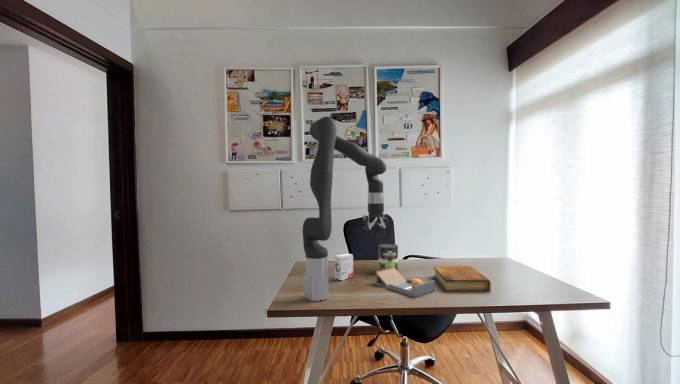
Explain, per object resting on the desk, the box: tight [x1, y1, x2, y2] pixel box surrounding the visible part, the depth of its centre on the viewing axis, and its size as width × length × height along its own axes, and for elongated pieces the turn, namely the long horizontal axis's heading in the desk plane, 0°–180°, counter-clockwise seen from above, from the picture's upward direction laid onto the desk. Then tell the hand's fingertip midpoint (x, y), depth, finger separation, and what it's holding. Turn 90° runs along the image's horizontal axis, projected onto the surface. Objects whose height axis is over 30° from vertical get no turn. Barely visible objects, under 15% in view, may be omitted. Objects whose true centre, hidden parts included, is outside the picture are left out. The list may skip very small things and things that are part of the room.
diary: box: [432, 265, 492, 293], centre depth 152 cm, size 23×19×6 cm
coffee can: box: [378, 243, 399, 272], centre depth 173 cm, size 10×10×14 cm
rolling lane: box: [374, 267, 436, 298], centre depth 148 cm, size 13×24×6 cm, turn 37°
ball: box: [411, 278, 423, 288], centre depth 142 cm, size 5×5×5 cm
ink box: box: [334, 253, 354, 281], centre depth 163 cm, size 9×5×12 cm, turn 129°
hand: (375, 237), depth 154 cm, fingers open, 8 cm apart
